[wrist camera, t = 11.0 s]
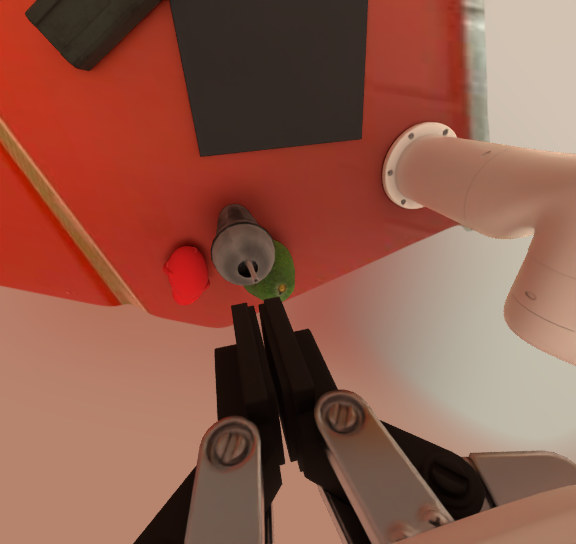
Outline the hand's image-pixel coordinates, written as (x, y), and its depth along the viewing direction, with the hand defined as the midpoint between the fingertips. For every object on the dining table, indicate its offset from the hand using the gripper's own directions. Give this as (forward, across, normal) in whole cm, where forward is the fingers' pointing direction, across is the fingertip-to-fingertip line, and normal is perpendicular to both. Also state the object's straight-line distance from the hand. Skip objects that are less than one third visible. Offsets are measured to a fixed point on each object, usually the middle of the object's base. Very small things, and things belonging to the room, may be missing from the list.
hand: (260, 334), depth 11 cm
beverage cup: (+35, -1, +8) cm, 36 cm away
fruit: (+35, -4, +14) cm, 38 cm away
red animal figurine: (+35, +7, +14) cm, 39 cm away
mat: (+35, -9, -12) cm, 38 cm away
